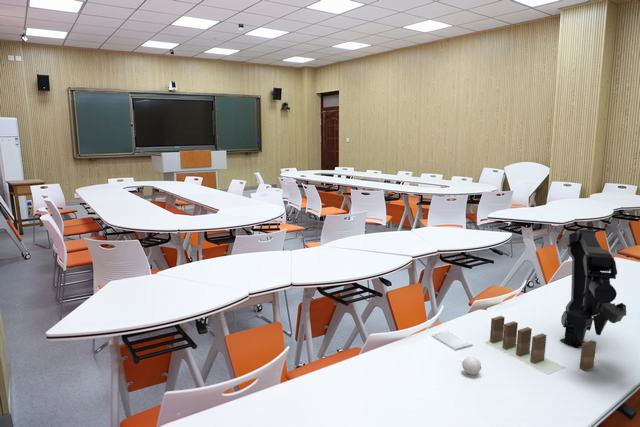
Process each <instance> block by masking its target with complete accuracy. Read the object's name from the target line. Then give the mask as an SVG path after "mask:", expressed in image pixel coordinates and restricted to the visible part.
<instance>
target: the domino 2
mask: <svg viewBox="0 0 640 427" xmlns="http://www.w3.org/2000/svg"><path fill="white" fill-rule="evenodd" d="M518 324H519V323H518V322H517V321H509V322H506V323H504V332H503V347H502V348H503V349H505V350H508V349H511V348H514V347H516V344H517V335H518V327H519V326H518Z"/></svg>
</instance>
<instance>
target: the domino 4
mask: <svg viewBox="0 0 640 427" xmlns="http://www.w3.org/2000/svg"><path fill="white" fill-rule="evenodd" d="M546 346H547V334H545V333H538V334H536V335H533V336H532V335H531V346H530V351H531V358H530V362H531V363H533V364H536V363H539V362H541V361H544V357H545V356H546V355H545V354H546ZM545 358H546V357H545Z"/></svg>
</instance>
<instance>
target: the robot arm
mask: <svg viewBox="0 0 640 427" xmlns="http://www.w3.org/2000/svg"><path fill="white" fill-rule="evenodd" d="M565 247H566V248H567V253H568V256H570V258H571V288H570V289H571V292H570V300H569V302H568V303H567V304H566V305H565V310H564V311H563V313H562V315H561V318H560V323H561V325H562V327H563V328H564V329H565V331H564V336H563V338H560V340H559V341H560V342H562V343H565V344H567V345H569V346H571V347H573V348H580V347H581V348H582V343H585V342H586V341H585V337H586V332H587V331H589V332H590V331H591V329H592V326H593V325H594V331H595V335H596V336H601V335H602V333H603V330H604V329H605V326H606V324H607V322H608V321H609V322H610V323H612V324H616V323H618V322H621V321H622V319H623V318H624V317H625V316H627V305H626V304H624V303H623V302H620V303H617V304H616V302H615V303H612V302H613V301H615V300H616V298H617V290H616V289H615V287H614V286H613V285H612V284H611V279H612V280H616V278H617V274H618V268H617V264H616V260H615V257H613V256H612V254H611V252H610V251H608V250H607V249H604V248H602V246H601V245H600V242H599V241H598V239H597V236H596V231H595V230H593V229H578V230H577V231H575V232H573V233H570V234H568V235H567V237H566V238H565Z"/></svg>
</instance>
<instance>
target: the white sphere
mask: <svg viewBox="0 0 640 427" xmlns="http://www.w3.org/2000/svg"><path fill="white" fill-rule="evenodd" d="M459 362H462V363H461V365H462V369H463V370H464V372H466V374H468V375H470V376H473V375H474V376H475V375H477V374H479V373H480V371H481V369H482V365H481V362H480V360H479V359H478V358H477V357H476V356H471V355H470V356H466V357H465V358H464V359H463V360H462V361H460V360H459Z"/></svg>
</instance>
